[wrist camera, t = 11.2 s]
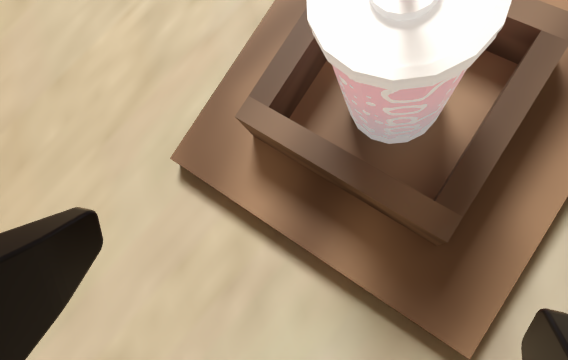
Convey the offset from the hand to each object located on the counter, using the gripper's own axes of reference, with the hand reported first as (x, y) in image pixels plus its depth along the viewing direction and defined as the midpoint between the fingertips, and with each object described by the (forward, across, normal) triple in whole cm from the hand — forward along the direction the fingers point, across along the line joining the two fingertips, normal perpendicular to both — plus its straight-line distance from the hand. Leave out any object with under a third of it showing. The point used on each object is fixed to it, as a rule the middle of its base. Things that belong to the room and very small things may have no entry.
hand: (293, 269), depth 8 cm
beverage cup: (+15, -2, +1) cm, 15 cm away
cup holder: (+16, -2, +2) cm, 16 cm away
